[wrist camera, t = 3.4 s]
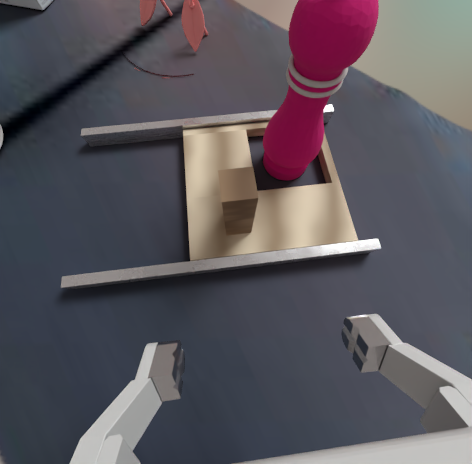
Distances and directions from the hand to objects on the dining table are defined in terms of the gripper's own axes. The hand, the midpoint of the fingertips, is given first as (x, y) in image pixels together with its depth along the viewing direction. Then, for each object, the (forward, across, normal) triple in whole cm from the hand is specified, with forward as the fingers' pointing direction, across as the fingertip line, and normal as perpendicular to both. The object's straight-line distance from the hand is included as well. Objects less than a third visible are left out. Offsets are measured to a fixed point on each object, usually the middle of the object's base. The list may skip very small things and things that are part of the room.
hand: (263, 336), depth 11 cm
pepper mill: (+24, -8, -4) cm, 26 cm away
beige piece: (+22, -4, -1) cm, 22 cm away
